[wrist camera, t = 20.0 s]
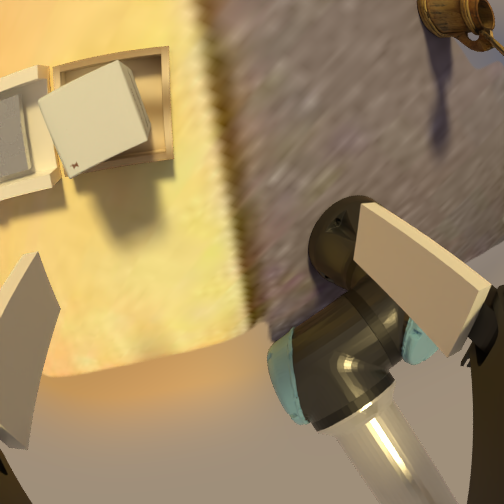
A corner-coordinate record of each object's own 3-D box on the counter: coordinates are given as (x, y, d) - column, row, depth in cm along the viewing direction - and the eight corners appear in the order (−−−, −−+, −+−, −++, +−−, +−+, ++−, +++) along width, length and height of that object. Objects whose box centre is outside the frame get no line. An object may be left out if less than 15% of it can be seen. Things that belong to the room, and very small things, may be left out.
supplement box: (153, 125, 32) (150, 144, 21) (95, 150, 31) (67, 182, 21) (133, 68, 28) (120, 57, 17) (74, 95, 27) (34, 101, 16)
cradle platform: (31, 167, 28) (28, 169, 27) (-7, 178, 26) (-10, 180, 26) (21, 93, 23) (18, 94, 22) (-18, 108, 22) (-21, 109, 21)
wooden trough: (172, 153, 35) (173, 158, 32) (71, 169, 32) (65, 176, 29) (167, 49, 28) (168, 46, 26) (61, 68, 25) (52, 67, 23)
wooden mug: (417, 52, 35) (512, 65, 21) (415, -17, 28) (504, -24, 14) (450, 64, 38) (534, 82, 23) (448, 0, 31) (530, 3, 16)
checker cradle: (61, 177, 32) (50, 189, 28) (-12, 196, 29) (-27, 210, 25) (49, 66, 24) (34, 64, 20) (-28, 95, 21) (-47, 98, 18)
